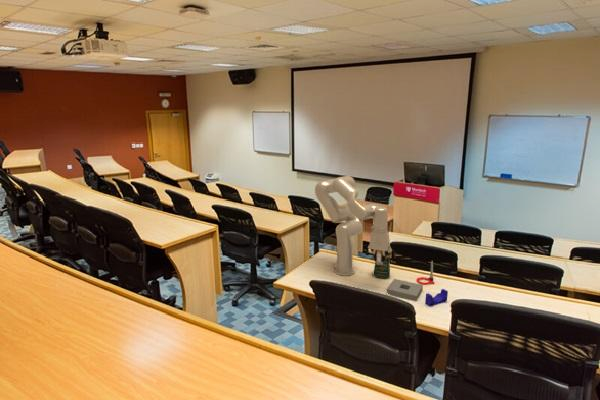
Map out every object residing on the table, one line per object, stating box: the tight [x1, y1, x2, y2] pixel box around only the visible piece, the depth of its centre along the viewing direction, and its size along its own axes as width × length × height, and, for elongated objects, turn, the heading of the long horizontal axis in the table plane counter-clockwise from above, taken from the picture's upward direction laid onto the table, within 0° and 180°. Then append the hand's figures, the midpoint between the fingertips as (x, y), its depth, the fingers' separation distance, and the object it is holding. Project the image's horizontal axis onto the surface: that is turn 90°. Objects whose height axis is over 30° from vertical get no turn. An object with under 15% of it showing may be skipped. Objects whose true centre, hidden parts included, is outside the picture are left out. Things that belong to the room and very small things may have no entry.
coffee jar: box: [373, 252, 392, 280], centre depth 221 cm, size 10×8×19 cm
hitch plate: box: [386, 278, 424, 302], centre depth 204 cm, size 16×14×3 cm
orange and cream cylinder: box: [376, 250, 383, 265], centre depth 206 cm, size 4×4×8 cm
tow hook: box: [416, 260, 435, 286], centre depth 215 cm, size 8×13×9 cm
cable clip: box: [424, 288, 449, 307], centre depth 193 cm, size 12×4×6 cm, turn 115°
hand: (379, 260), depth 206 cm, fingers closed on orange and cream cylinder, 3 cm apart
